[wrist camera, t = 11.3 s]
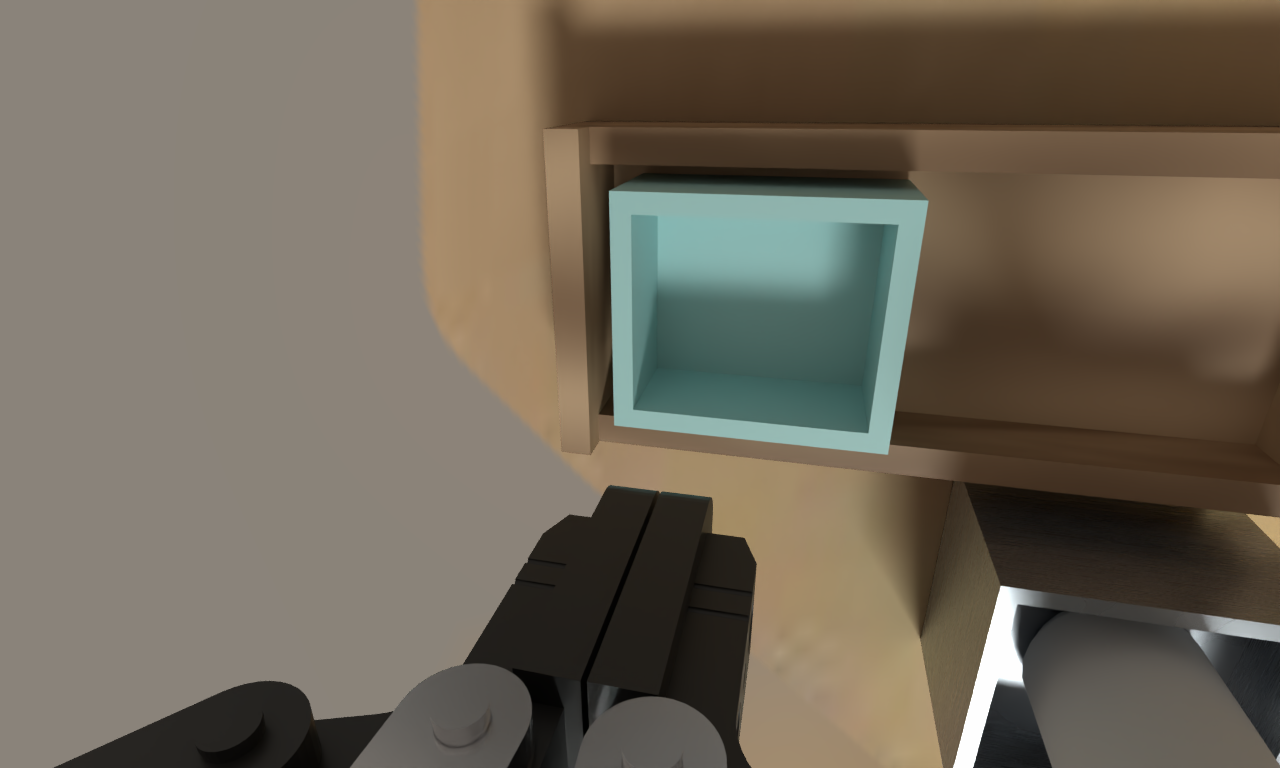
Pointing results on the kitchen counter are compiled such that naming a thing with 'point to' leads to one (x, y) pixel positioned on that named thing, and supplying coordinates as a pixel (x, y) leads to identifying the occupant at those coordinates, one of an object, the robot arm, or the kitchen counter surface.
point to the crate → (763, 305)
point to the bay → (1001, 298)
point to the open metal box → (1087, 604)
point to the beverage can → (1134, 698)
